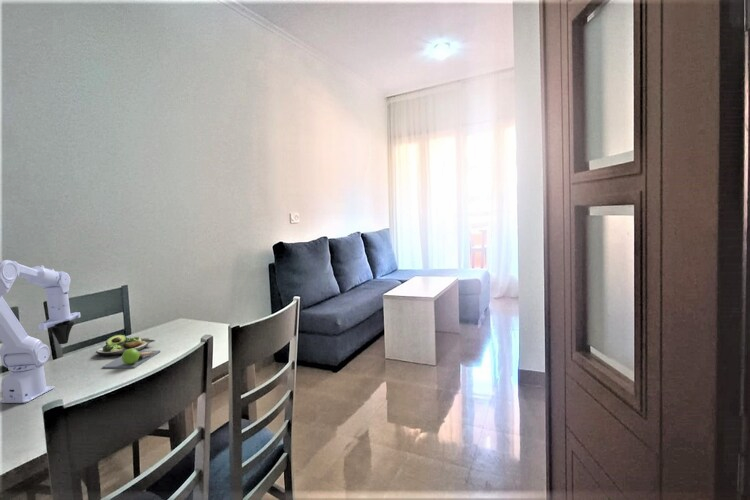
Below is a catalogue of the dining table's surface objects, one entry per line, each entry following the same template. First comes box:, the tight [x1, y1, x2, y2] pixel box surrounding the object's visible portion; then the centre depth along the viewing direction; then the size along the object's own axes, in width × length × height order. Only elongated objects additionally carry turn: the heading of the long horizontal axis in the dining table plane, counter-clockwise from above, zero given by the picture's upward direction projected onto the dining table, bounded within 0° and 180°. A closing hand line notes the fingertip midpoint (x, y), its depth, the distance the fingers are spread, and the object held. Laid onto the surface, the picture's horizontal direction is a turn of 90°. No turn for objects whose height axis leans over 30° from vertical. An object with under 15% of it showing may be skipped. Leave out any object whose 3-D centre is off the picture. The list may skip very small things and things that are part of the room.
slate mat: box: [102, 350, 161, 369], centre depth 140 cm, size 15×12×1 cm
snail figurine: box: [121, 349, 155, 364], centre depth 138 cm, size 5×6×12 cm
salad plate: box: [96, 334, 156, 357], centre depth 152 cm, size 19×18×5 cm
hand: (63, 343), depth 130 cm, fingers closed
